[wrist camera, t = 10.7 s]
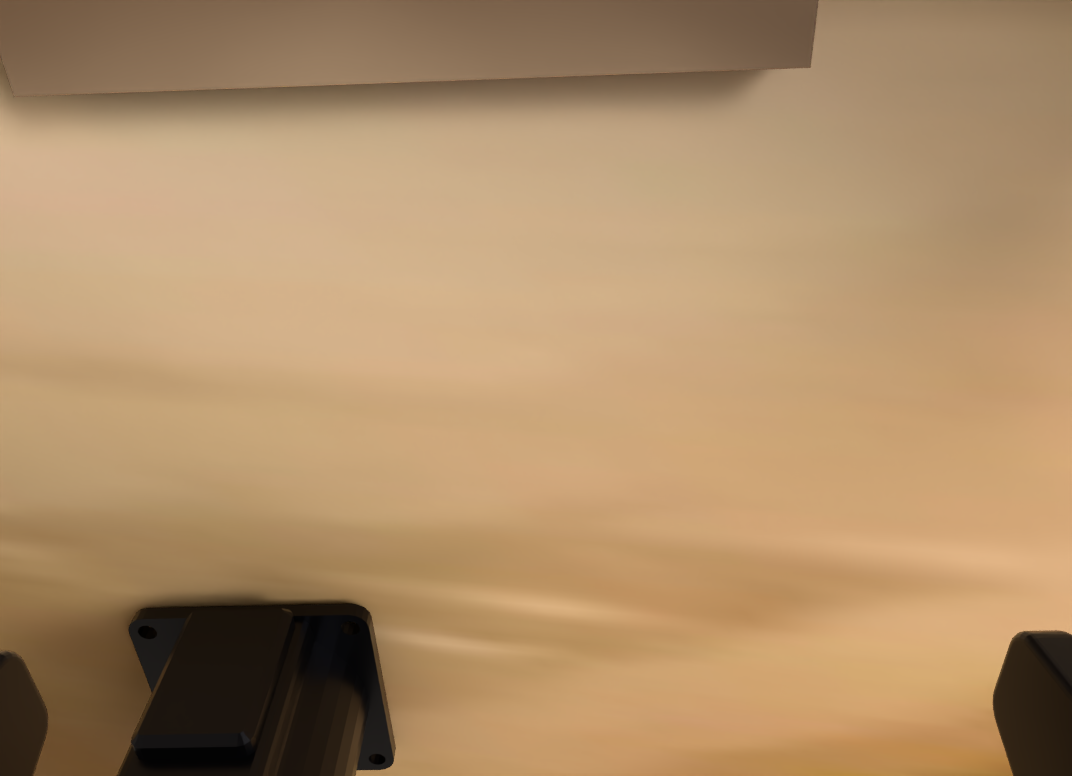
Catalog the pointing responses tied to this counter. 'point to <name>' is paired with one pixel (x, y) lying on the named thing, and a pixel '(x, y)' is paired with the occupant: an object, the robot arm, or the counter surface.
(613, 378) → the counter surface
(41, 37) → the walnut board
